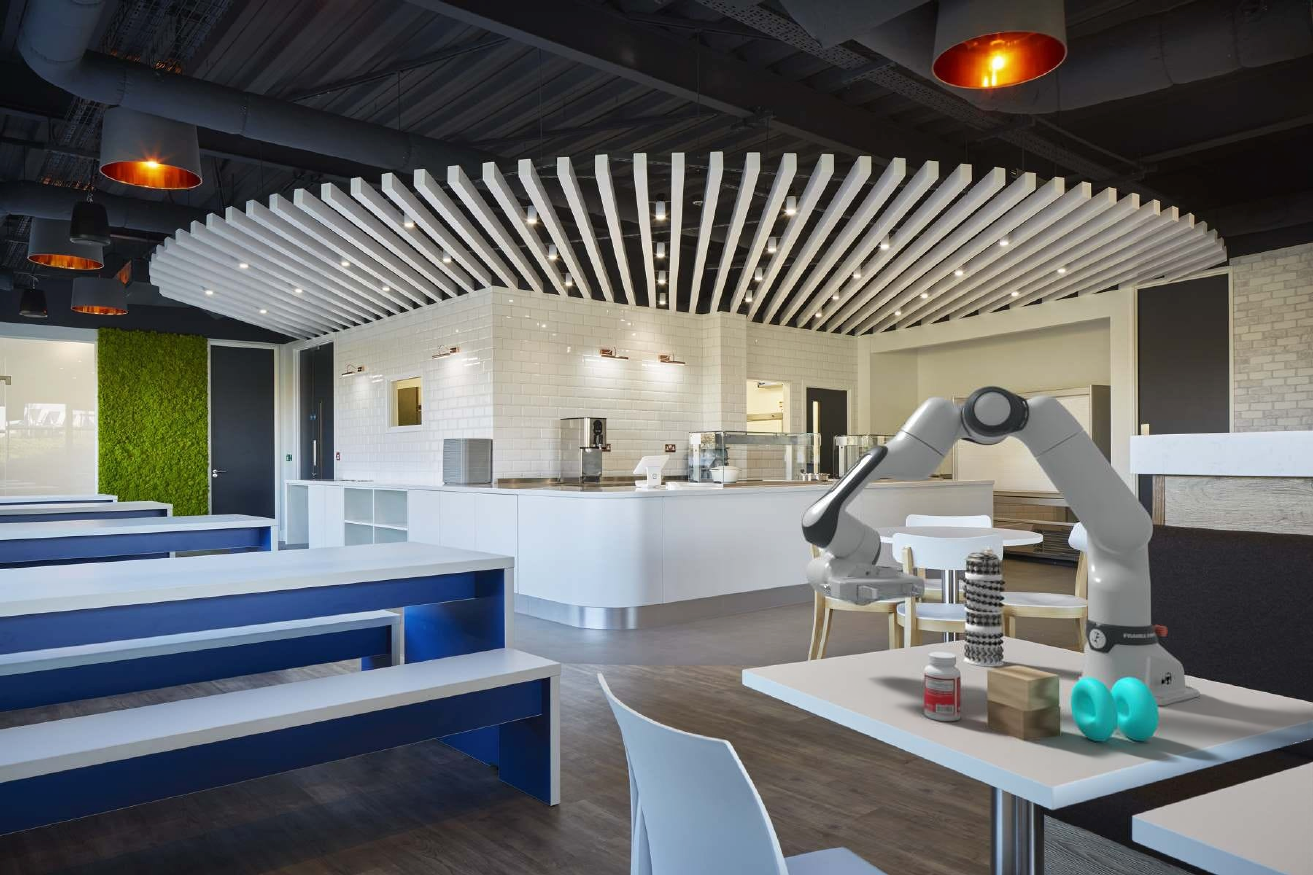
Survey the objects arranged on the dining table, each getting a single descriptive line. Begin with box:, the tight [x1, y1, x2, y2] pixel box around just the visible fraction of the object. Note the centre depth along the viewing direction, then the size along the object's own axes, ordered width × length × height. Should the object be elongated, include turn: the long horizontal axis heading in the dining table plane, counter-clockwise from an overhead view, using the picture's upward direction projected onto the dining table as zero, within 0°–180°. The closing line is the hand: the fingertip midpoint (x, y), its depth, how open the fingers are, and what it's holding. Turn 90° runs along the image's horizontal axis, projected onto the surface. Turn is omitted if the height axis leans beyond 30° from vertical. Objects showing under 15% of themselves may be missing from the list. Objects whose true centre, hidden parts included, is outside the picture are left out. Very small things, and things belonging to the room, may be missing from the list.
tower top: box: [986, 664, 1060, 711], centre depth 141 cm, size 8×8×5 cm
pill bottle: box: [923, 651, 962, 722], centre depth 148 cm, size 6×6×11 cm
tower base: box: [987, 699, 1061, 741], centre depth 141 cm, size 8×8×5 cm
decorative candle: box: [961, 552, 1006, 668], centre depth 192 cm, size 9×9×25 cm
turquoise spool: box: [1070, 677, 1160, 742], centre depth 137 cm, size 10×10×10 cm
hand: (900, 593), depth 160 cm, fingers open, 8 cm apart
